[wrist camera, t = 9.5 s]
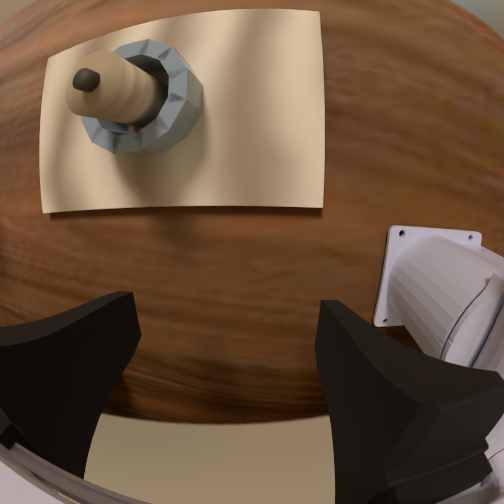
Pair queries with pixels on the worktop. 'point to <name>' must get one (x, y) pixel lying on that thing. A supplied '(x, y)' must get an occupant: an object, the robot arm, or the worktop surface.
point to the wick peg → (114, 90)
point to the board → (203, 119)
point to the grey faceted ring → (172, 113)
